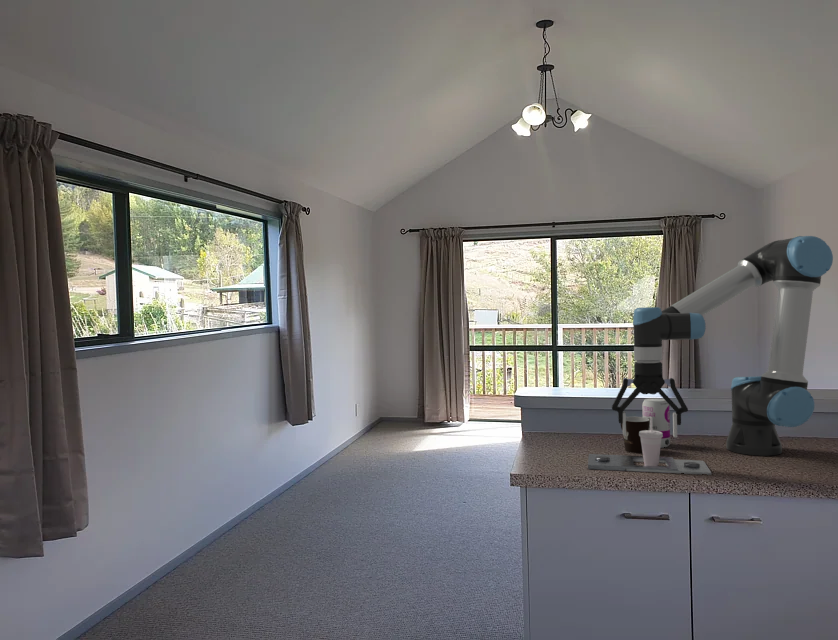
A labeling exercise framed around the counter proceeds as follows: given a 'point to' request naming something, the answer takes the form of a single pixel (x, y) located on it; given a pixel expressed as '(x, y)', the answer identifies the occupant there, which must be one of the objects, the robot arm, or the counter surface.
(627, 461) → the link plate
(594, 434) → the counter surface
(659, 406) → the supplement can
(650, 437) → the smoothie
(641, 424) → the coffee mug
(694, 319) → the robot arm
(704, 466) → the link plate
